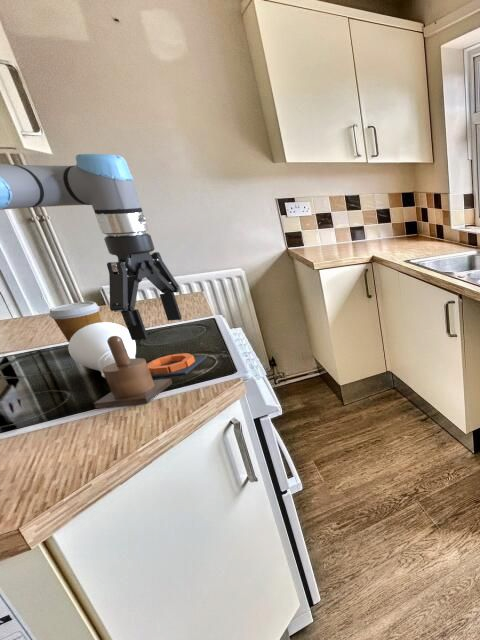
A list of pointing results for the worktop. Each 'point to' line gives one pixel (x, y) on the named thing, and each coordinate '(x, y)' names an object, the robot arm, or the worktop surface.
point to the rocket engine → (98, 345)
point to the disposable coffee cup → (75, 317)
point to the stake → (128, 379)
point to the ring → (185, 362)
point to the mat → (181, 371)
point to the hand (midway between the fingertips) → (158, 329)
